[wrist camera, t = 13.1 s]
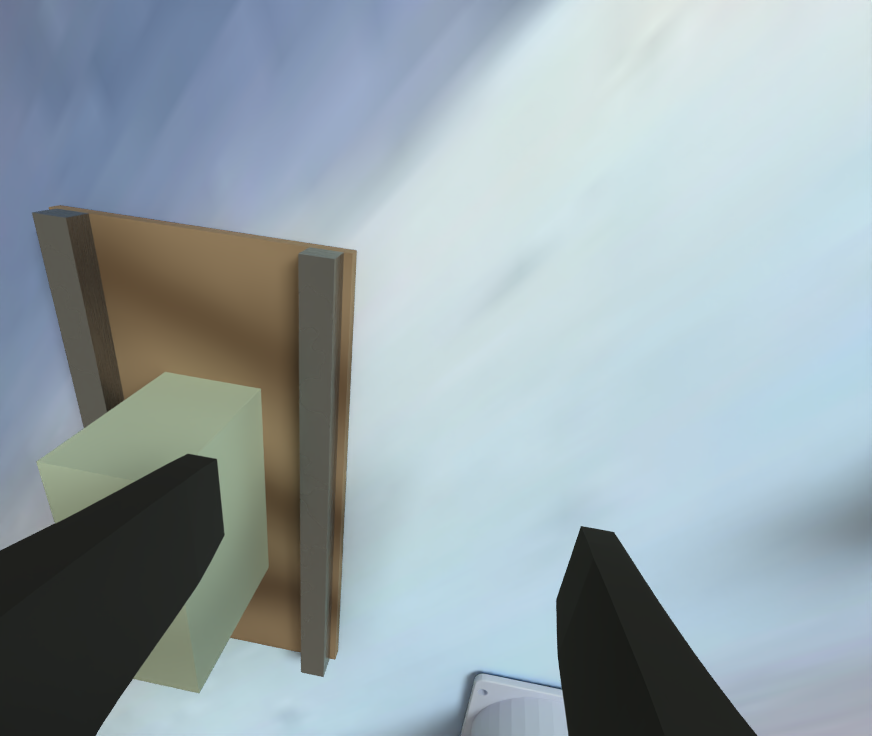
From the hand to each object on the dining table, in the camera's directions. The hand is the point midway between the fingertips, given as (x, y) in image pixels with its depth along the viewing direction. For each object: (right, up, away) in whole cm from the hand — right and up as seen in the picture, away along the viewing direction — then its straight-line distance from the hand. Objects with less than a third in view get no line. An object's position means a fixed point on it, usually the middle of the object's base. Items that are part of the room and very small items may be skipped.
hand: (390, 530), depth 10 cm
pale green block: (-9, -2, +12) cm, 15 cm away
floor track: (-9, -2, +13) cm, 15 cm away
